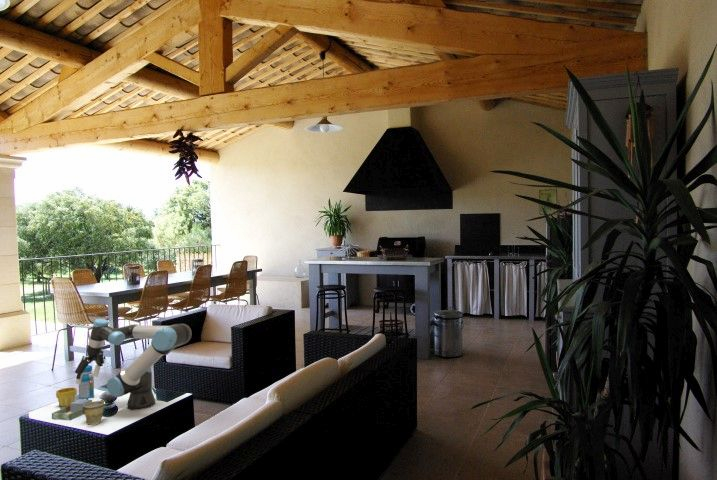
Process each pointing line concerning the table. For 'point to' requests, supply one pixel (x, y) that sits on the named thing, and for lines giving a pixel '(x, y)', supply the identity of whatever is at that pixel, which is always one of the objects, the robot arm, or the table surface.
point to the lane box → (67, 413)
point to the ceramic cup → (94, 411)
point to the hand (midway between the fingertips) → (86, 379)
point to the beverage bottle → (87, 384)
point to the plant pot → (66, 396)
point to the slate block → (78, 404)
